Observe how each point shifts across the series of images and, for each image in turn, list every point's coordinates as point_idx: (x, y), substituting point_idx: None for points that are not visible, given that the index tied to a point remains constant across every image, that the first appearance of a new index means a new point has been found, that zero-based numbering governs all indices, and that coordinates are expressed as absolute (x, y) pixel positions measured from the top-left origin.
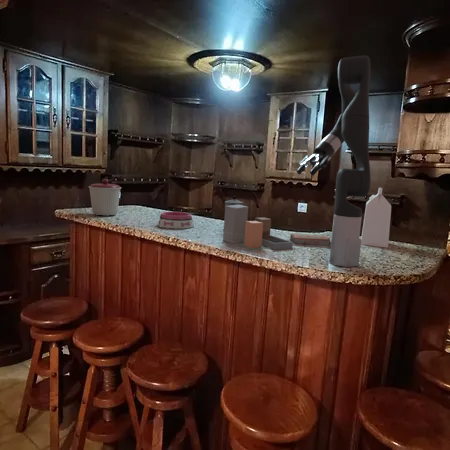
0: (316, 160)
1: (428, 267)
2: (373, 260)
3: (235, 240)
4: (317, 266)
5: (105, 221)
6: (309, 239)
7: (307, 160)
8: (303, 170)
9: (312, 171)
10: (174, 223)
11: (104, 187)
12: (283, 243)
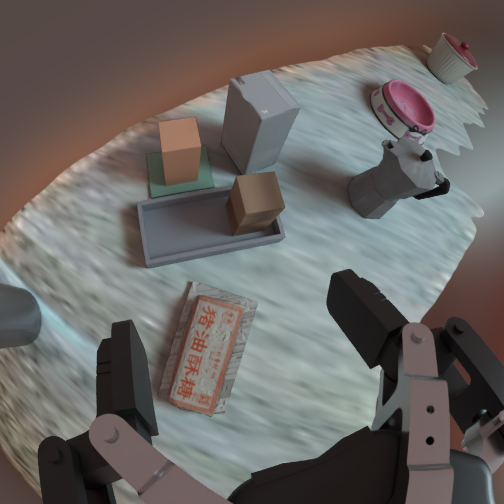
0: (182, 487)
1: (18, 470)
2: (46, 414)
3: (224, 142)
4: (14, 246)
5: (394, 52)
6: (183, 341)
7: (408, 400)
8: (359, 351)
9: (110, 341)
10: (377, 95)
11: (447, 39)
12: (141, 232)
